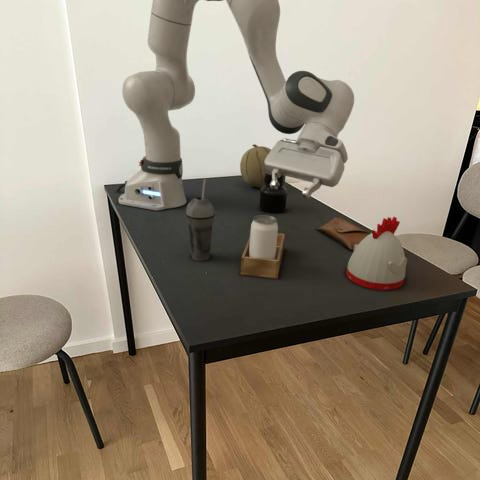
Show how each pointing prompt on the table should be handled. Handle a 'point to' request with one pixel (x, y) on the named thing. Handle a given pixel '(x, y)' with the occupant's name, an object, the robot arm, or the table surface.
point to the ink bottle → (273, 195)
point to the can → (263, 237)
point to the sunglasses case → (344, 232)
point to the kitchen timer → (379, 259)
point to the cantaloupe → (254, 165)
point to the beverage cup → (200, 226)
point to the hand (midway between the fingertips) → (288, 192)
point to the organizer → (263, 261)
